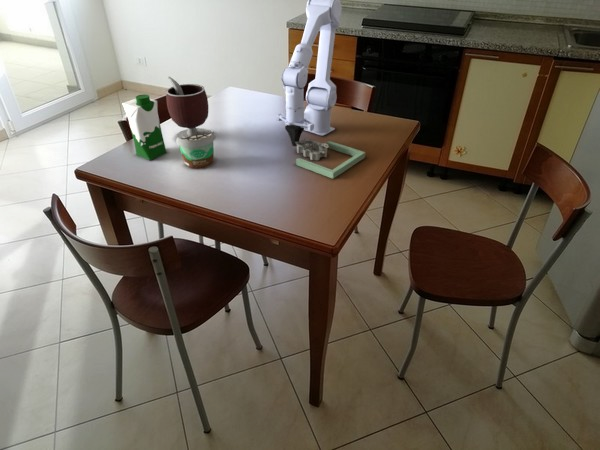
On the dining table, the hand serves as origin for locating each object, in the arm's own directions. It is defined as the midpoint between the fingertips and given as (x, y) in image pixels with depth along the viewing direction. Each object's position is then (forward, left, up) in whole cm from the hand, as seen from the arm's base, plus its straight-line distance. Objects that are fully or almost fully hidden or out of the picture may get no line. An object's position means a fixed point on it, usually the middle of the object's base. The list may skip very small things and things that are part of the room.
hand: (295, 145), depth 144 cm
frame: (+14, 0, -1) cm, 14 cm away
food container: (-16, -28, -2) cm, 32 cm away
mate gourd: (-37, -15, -2) cm, 40 cm away
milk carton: (-36, -33, -2) cm, 49 cm away
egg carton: (+7, 0, -2) cm, 7 cm away
